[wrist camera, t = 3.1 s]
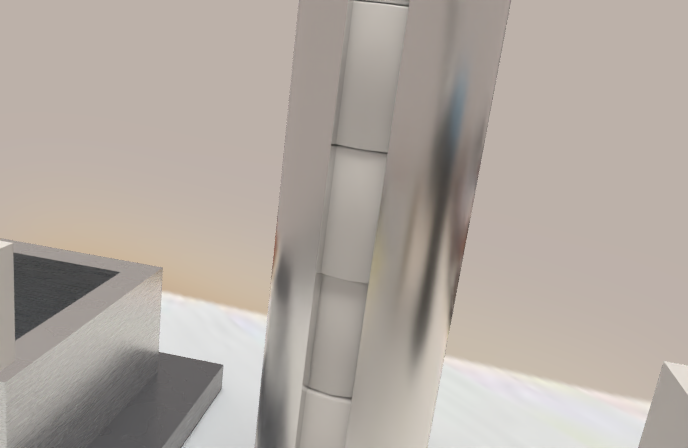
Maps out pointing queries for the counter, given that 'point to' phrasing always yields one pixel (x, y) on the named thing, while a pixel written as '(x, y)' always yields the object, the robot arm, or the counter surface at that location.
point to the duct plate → (95, 358)
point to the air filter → (374, 216)
